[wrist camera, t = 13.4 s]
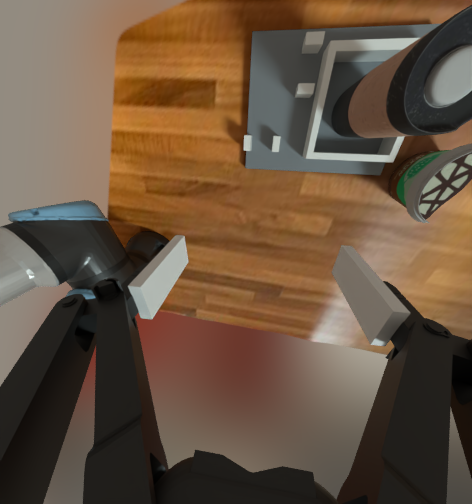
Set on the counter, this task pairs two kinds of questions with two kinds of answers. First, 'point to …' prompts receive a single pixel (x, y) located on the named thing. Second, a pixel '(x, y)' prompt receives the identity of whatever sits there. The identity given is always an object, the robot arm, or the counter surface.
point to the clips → (303, 90)
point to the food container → (431, 180)
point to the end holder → (333, 53)
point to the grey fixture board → (307, 99)
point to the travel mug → (414, 88)
